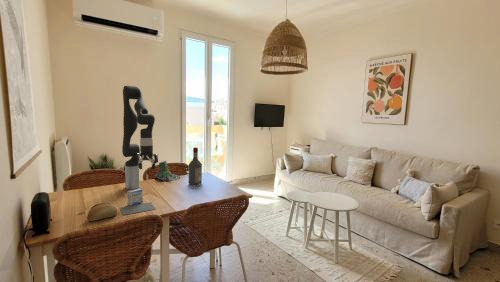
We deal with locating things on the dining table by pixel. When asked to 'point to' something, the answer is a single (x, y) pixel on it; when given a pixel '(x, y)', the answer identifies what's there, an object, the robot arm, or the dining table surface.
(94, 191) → the dining table surface
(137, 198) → the medicine box
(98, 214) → the bread roll
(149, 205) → the mat
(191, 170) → the liquor
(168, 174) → the tree stump
